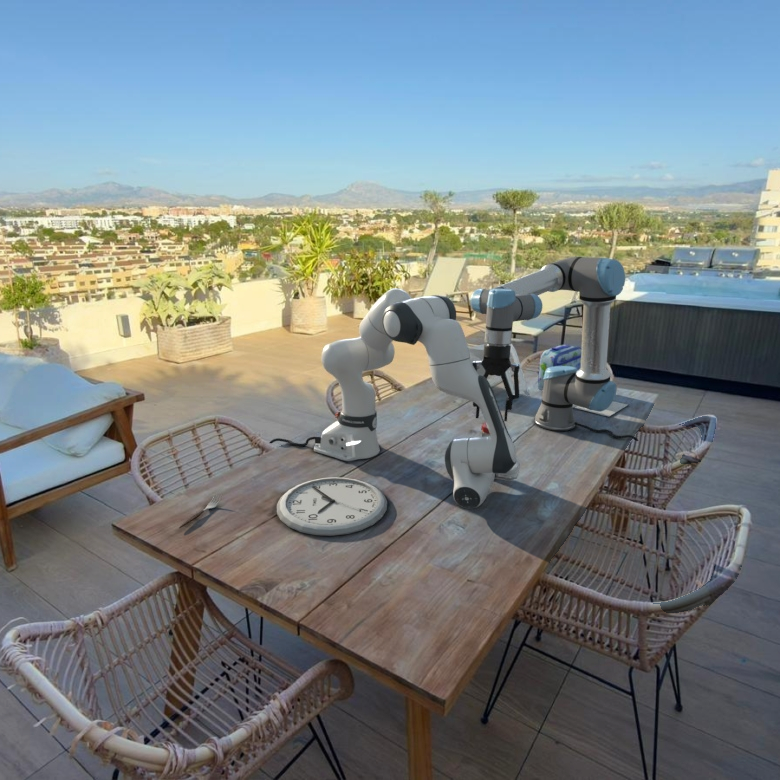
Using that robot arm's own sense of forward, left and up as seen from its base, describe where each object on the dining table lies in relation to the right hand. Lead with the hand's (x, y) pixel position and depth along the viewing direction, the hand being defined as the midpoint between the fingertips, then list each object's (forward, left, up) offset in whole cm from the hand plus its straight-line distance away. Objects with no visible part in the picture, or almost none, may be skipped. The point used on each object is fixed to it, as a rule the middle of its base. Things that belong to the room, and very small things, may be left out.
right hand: (491, 418), depth 157 cm
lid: (0, 0, -3) cm, 3 cm away
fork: (+76, +36, -19) cm, 86 cm away
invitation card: (-53, -73, -19) cm, 92 cm away
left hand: (0, -1, -12) cm, 13 cm away
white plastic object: (-1, -85, -19) cm, 87 cm away
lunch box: (-39, -96, -19) cm, 105 cm away
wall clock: (+43, +26, -19) cm, 54 cm away
